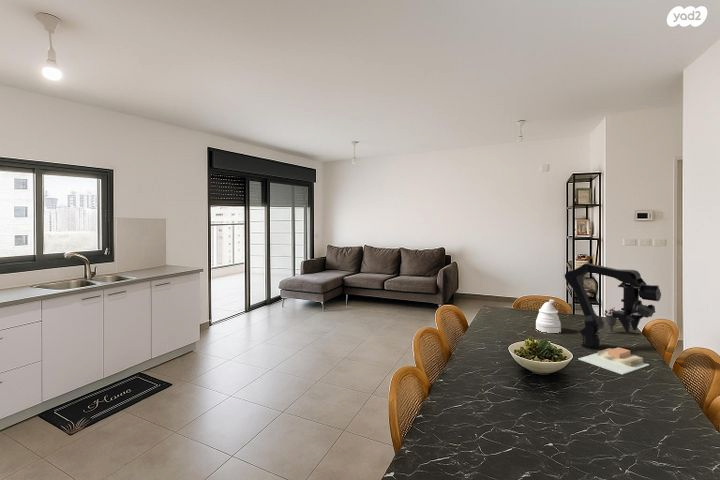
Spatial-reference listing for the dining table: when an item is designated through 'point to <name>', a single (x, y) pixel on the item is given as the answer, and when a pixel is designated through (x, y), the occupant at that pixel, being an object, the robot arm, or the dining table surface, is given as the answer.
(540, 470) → the dining table surface
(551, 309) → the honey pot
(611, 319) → the sundae
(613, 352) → the terracotta tile
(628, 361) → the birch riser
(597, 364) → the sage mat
